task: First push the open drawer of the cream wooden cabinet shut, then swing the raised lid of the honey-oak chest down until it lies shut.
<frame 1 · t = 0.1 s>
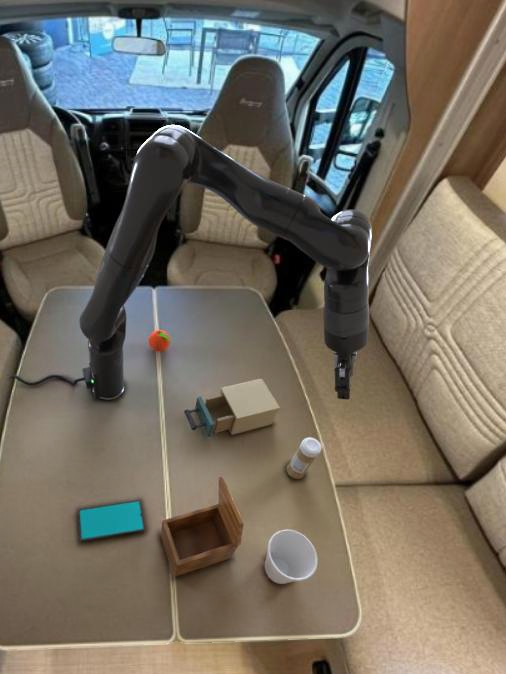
hand: (345, 383, 86), 31 cm above the table, tool tilted 20°, fingers open, 8 cm apart
drawer: (214, 414, 114), point 4 cm above the table, slide at 6.0 cm
chest lid: (229, 511, 83), point 16 cm above the table, hinge at 80.0°
chest: (194, 546, 95), on the table
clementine: (160, 349, 135), on the table
sprinkles bottle: (294, 471, 108), on the table
cup: (277, 569, 92), on the table
smartphone: (111, 521, 98), on the table
cabinet: (243, 414, 119), on the table
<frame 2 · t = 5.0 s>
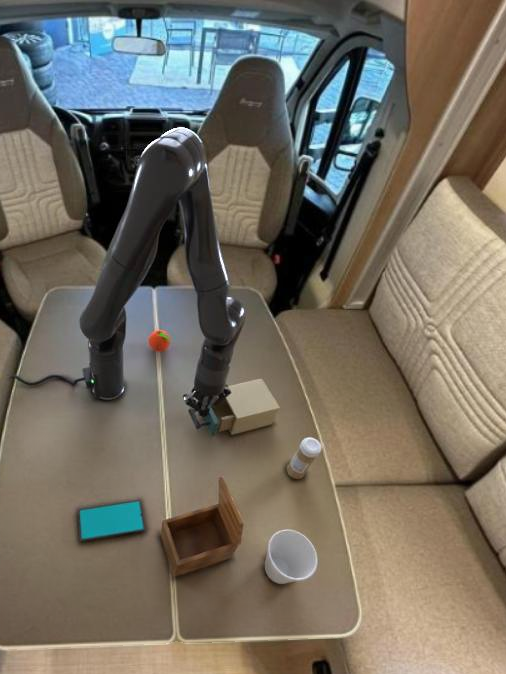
hand: (202, 414, 111), 6 cm above the table, tool pointing down, fingers closed
drawer: (218, 413, 114), point 4 cm above the table, slide at 4.8 cm, touching gripper
everything else where it was.
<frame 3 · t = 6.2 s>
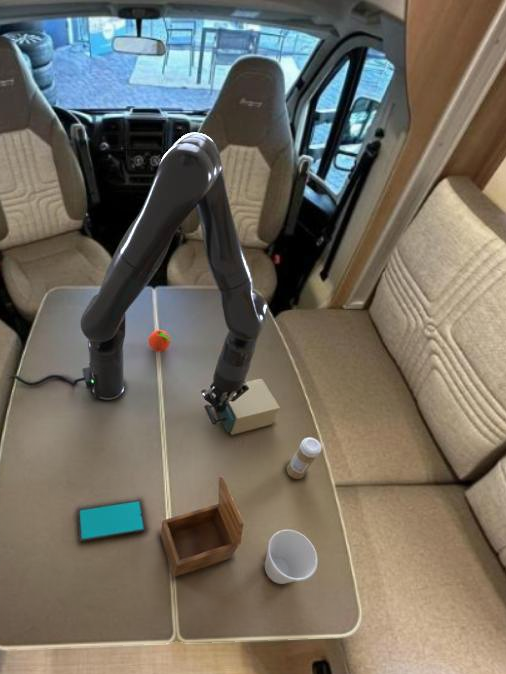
hand: (218, 409, 112), 6 cm above the table, tool pointing down, fingers closed
drawer: (234, 409, 115), point 4 cm above the table, slide at 0.0 cm, touching cabinet, gripper
everything else where it was.
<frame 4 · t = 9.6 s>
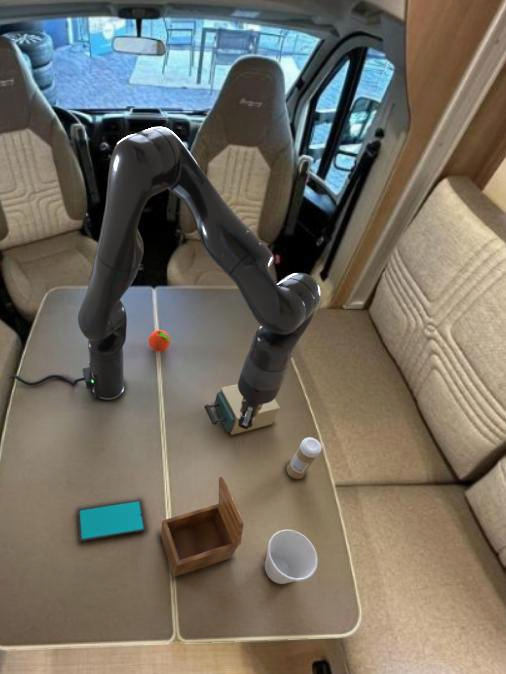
hand: (243, 425, 88), 23 cm above the table, tool pointing down, fingers closed
drawer: (234, 409, 115), point 4 cm above the table, slide at 0.0 cm, touching cabinet
everything else where it was.
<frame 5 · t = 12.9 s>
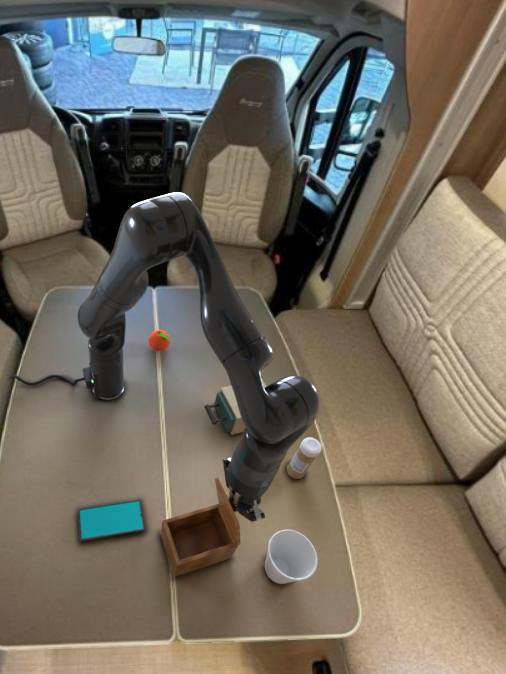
hand: (233, 506, 82), 19 cm above the table, tool pointing down, fingers closed
chest lid: (228, 512, 83), point 16 cm above the table, hinge at 76.7°, touching gripper
everything else where it was.
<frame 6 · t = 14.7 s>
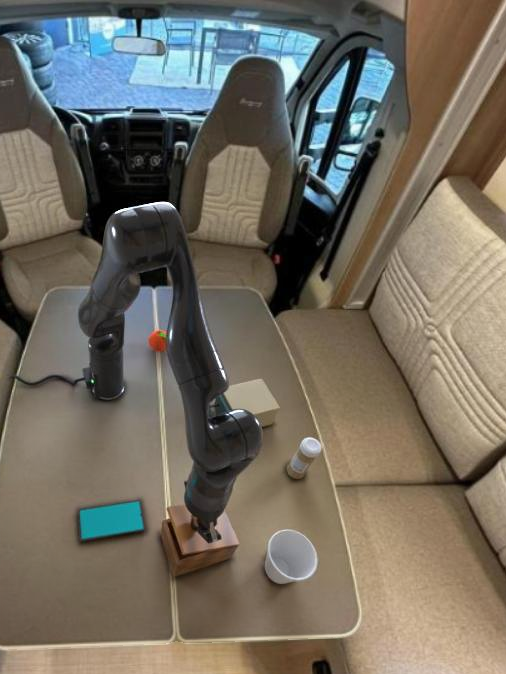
hand: (196, 525, 84), 14 cm above the table, tool pointing down, fingers closed
chest lid: (203, 526, 85), point 12 cm above the table, hinge at 25.9°, touching gripper
everything else where it was.
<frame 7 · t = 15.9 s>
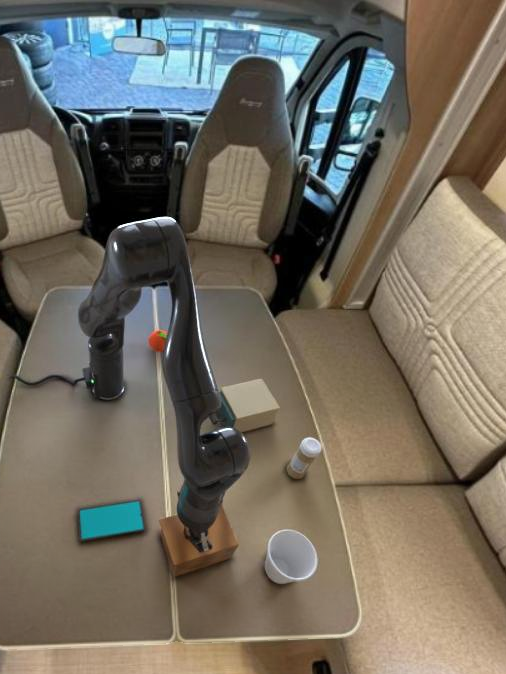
hand: (189, 534, 87), 10 cm above the table, tool pointing down, fingers closed
chest lid: (198, 532, 87), point 9 cm above the table, hinge at 1.7°, touching gripper
everything else where it was.
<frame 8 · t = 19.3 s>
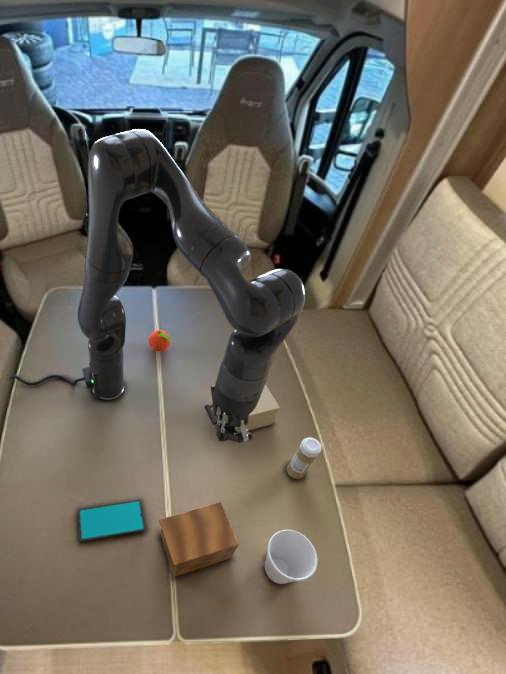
hand: (222, 437, 80), 29 cm above the table, tool pointing down, fingers closed
chest lid: (198, 532, 87), point 9 cm above the table, hinge at 1.5°
everything else where it was.
at the end: drawer slide at 0.0 cm; chest lid at +2° (first picture: +80°) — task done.
